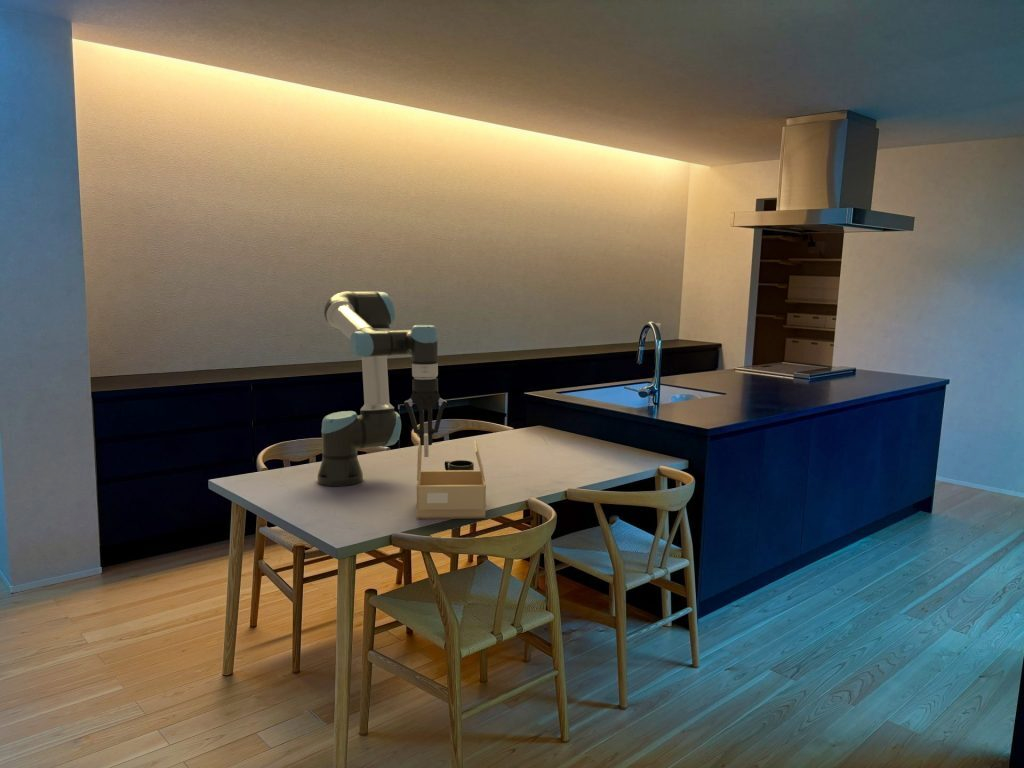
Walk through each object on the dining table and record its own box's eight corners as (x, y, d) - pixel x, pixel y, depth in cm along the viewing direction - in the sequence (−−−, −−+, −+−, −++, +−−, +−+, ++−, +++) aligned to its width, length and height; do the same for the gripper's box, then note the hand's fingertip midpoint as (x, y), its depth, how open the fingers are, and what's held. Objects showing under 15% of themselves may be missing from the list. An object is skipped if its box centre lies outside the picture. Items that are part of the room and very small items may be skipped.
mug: (455, 483, 250) (456, 456, 249) (478, 491, 242) (478, 463, 240) (436, 488, 245) (436, 460, 243) (458, 496, 236) (459, 467, 235)
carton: (416, 519, 213) (416, 486, 211) (419, 501, 230) (419, 470, 229) (485, 519, 215) (485, 486, 213) (483, 500, 232) (483, 470, 230)
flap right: (482, 467, 229) (475, 439, 227) (484, 480, 214) (477, 451, 213) (481, 467, 229) (473, 440, 227) (482, 480, 214) (475, 451, 213)
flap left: (416, 480, 213) (417, 450, 211) (419, 467, 227) (420, 439, 226) (418, 480, 213) (420, 450, 211) (421, 467, 227) (422, 439, 226)
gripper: (402, 379, 212) (404, 459, 215) (446, 379, 213) (447, 458, 216) (403, 376, 219) (405, 453, 222) (446, 375, 220) (447, 452, 224)
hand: (426, 455), depth 219 cm, fingers closed
